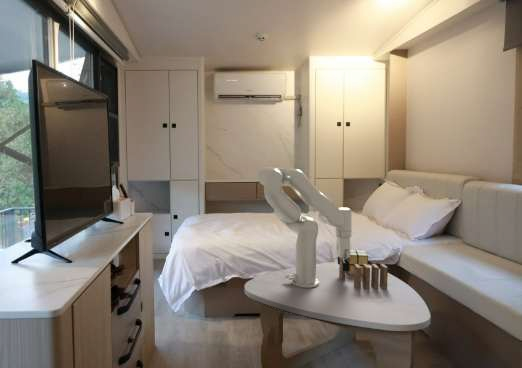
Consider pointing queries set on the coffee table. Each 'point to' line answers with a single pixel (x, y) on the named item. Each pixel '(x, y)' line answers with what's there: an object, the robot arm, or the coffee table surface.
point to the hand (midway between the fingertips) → (343, 267)
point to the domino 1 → (341, 270)
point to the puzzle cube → (357, 260)
